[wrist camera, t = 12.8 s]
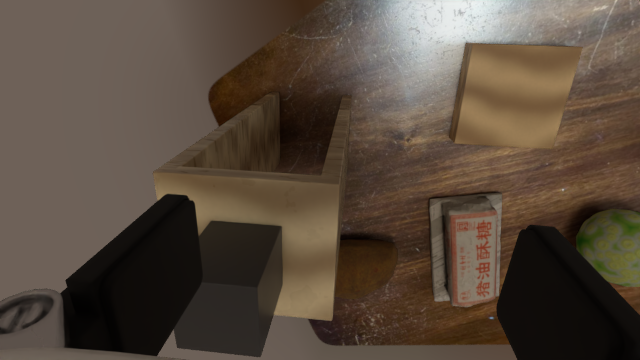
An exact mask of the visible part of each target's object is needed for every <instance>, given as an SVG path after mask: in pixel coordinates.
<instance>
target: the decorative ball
mask: <svg viewBox="0 0 640 360" xmlns="http://www.w3.org/2000/svg"><path fill="white" fill-rule="evenodd" d="M576 248H577V251H578V252H579V253H580V254H581V255H582V256H583V257H584V258H585V259H586V260H587V261H588V262H589V263H590V264H591V265H592V266H593V267H594V268H595V269H596V270H597V271H598V272H599V273H600V275H601V276H602V277H603V278H604V279H605V280H606V281H608V282H611V283H615V284H618V285H622V286H634V287H639V286H640V213H639V212H636V211H631V210H623V209H609V210H605V211H602V212H598V213H596V214H595V215H593V216H591V217H590V218H589V219H587V220H586V221H585V222H584V223H583V224H582V226H581V228H580V230H579V232H578V234H577V236H576Z"/></svg>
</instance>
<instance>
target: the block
mask: <svg viewBox="0 0 640 360" xmlns="http://www.w3.org/2000/svg"><path fill="white" fill-rule="evenodd" d="M199 243H200V252H201V261H202V270H203V279H202V283H201V285H200V287H199V289H198V290H197V292H196V294H195V295H194V297H193V299H192V300H191V302H190V303H189V305H188V307H187V308H186V310H185V311H184V313H183V315H182V316H181V318H180V320H179V321H178V323H177V324H176V326H175V328H174V333H175V339H176V344H177V348H182V349H191V350H200V351H209V352H218V353H227V354H235V355H244V356H254V357H261V354H262V351H263V348H264V345H265V341H266V338H267V335H268V331H269V328H270V325H271V321H272V318H273V315H274V312H275V308H276V305H277V302H278V299H279V295H280V292H281V289H282V285H283V267H282V226H275V225H262V224H250V223H237V222H224V221H210V223H209V224H208V225H207V226H206V228H205V229H204V230H203V231H202V233H201V234H200V235H199Z"/></svg>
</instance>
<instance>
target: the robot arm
mask: <svg viewBox="0 0 640 360" xmlns="http://www.w3.org/2000/svg"><path fill="white" fill-rule="evenodd" d="M202 279H203V270H202V261H201V252H200V243H199V235H198V226H197V217H196V208H195V203H194V201H193V200H190V199H189V197H188V196H187V195H178V194H166V195H164V196H163V197H162V198H161V199H160V200H158V201H157V202H156V203H155V204H154V205H153V206H151V207H150V208H149V209H148V210H147V211H146V212H144V213H143V214H142V215H141V216H140V217H139V218H137V219H136V220H135V221H134V222H133V223H132V224H131V225H129V226H128V227H127V228H126V229H125V230H123V231H122V232H121V233H120V234H119V235H118V236H116V238H114V239H113V240H112V241H111V242H110V243H108V244H107V245H106V246H105V247H104V248H103V249H101V250H100V251H99V252H98V253H97V254H96V255H94V256H93V257H92V258H91V259H90V260H89V261H87V262H86V263H85V264H84V265H83V266H82V267H81V268H79V269H78V270H77V271H76V272H75V273H73V274H72V275H71V276H70V277H69V278H68V279H66V284H67V288H66V289H65V290H64V291H62V292H61V293H58V292H57V291H55V290H51V289H34V290H30V291H25V292H21V293H18V294H16V295H13V296H10V297H8V298H6V299H4V300H2V301H0V360H184V359H175V358H167V357H158V356H157V355H158V353H159V352H160V350H161V349H162V347H163V345H164V343H165V342H166V340H167V339H168V337H169V336H170V334H171V332H172V331H173V329H174V328H175V326H176V324H177V323H178V321H179V320H180V318H181V316H182V315H183V313H184V311H185V310H186V308H187V307H188V305H189V303H190V302H191V300H192V299H193V297H194V295H195V294H196V292H197V290H198V289H199V287H200V285H201V283H202ZM497 316H498V319H499V321H500V323H501V325H502V328H503V330H504V332H505V334H506V336H507V338H508V340H509V343H510V345H511V347H512V349H513V351H514V353H515V355H516V358H517V360H640V315H639V314H638V313H637V312H636V311H635V310H634V309H633V308H632V307H631V306H630V305H629V304H628V303H627V302H626V300H625V299H624V298H623V297H622V296H621V295H620V294H619V293H618V292H617V291H616V290H615V289H614V288H613V287H612V286H611V285H610V284H609V283H608V282H607V281H606V280H605V279H604V278H603V277H602V276H601V275H600V273H599V272H598V271H597V270H596V269H595V268H594V267H593V266H592V265H591V264H590V263H589V262H588V261H587V260H586V259H585V258H584V257H583V256H582V255H581V254H580V253H579V252H578V251H577V250H576V249H575V248H574V246H573V245H572V244H571V243H570V242H569V241H568V240H567V239H566V238H565V237H564V236H563V235H562V234H561V233H560V232H559V231H558V230H557V229H556V228H555V227H550V226H538V225H529V226H528V227H527V228H526V230H525V229H523V230H521V231H520V233H519V235H518V238H517V242H516V245H515V248H514V251H513V255H512V258H511V261H510V264H509V267H508V271H507V274H506V277H505V280H504V283H503V287H502V290H501V293H500V296H499V300H498V303H497Z"/></svg>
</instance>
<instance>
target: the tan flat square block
mask: <svg viewBox="0 0 640 360" xmlns="http://www.w3.org/2000/svg"><path fill="white" fill-rule="evenodd" d="M582 48H583V47H574V46H542V45H512V44H482V43H466V45H465V51H464V56H463V62H462V68H461V73H460V79H459V84H458V90H457V96H456V101H455V107H454V113H453V118H452V124H451V130H450V135H449V138H450V139H451V140H452V141H453V142H454V143H455V144H470V145H488V146H505V147H523V148H540V149H553V146H554V142H555V139H556V136H557V132H558V129H559V126H560V122H561V119H562V116H563V112H564V109H565V106H566V102H567V99H568V95H569V92H570V89H571V85H572V82H573V79H574V75H575V72H576V69H577V65H578V62H579V59H580V55H581V52H582Z"/></svg>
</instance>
